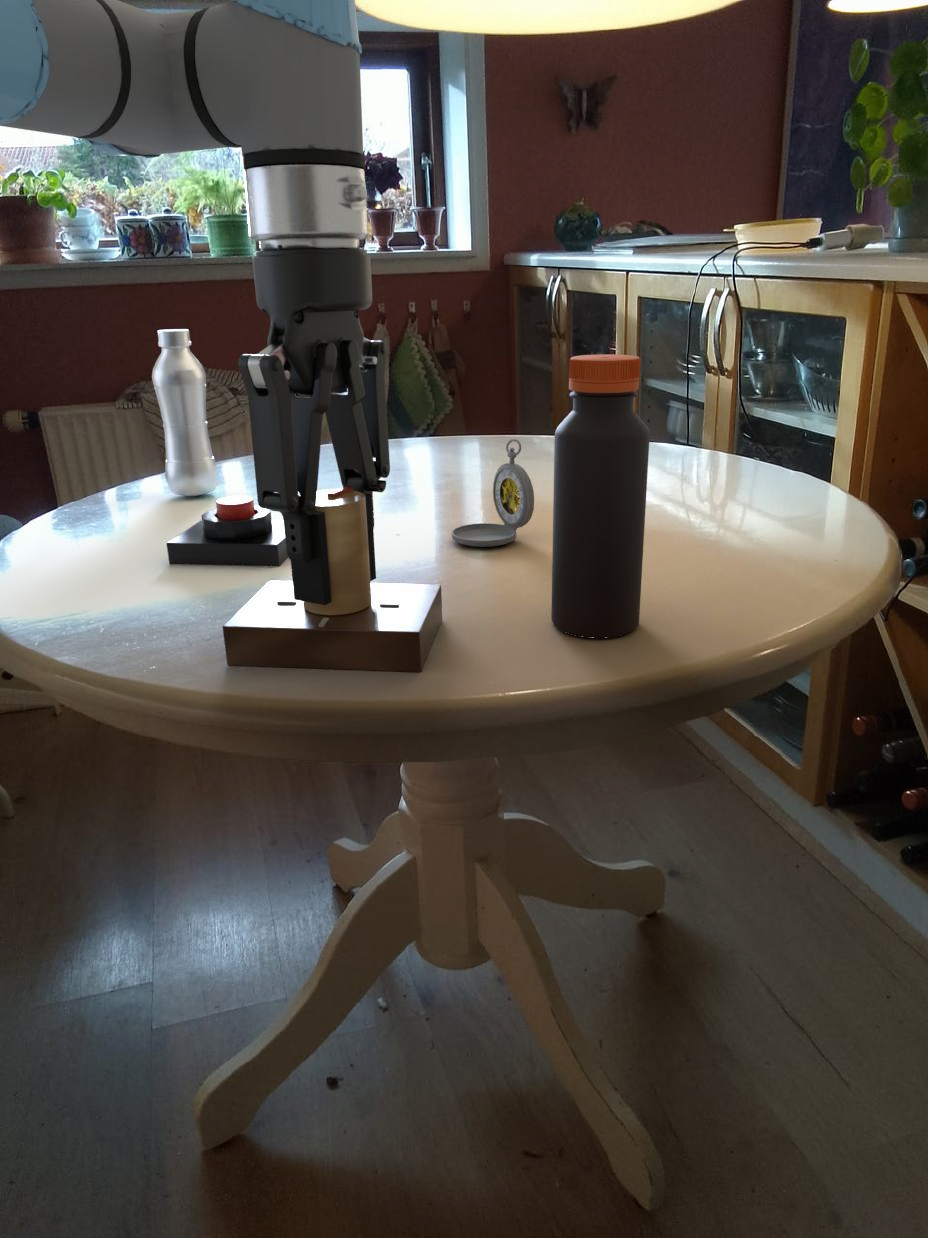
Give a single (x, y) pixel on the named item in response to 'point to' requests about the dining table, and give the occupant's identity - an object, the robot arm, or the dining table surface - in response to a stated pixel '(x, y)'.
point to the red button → (235, 507)
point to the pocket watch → (503, 507)
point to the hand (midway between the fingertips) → (336, 588)
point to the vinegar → (599, 500)
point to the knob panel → (336, 630)
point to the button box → (231, 541)
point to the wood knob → (345, 551)
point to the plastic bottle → (184, 416)
